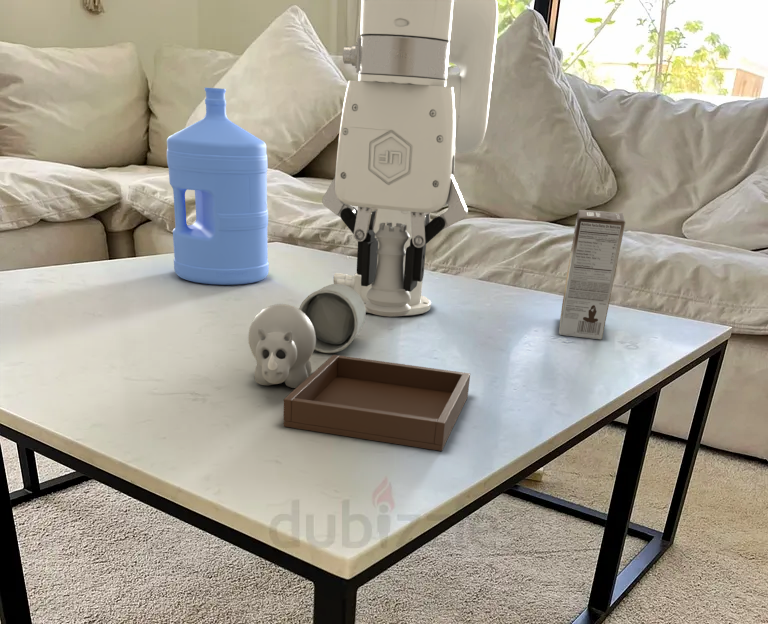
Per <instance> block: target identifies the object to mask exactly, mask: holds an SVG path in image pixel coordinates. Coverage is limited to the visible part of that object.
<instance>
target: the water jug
mask: <svg viewBox="0 0 768 624" xmlns="http://www.w3.org/2000/svg"><path fill="white" fill-rule="evenodd" d="M204 91H205V98H204V104H205V115H204V117H203V118H202V119H199V120H198V121H196V122H194V123H192V124H191V125H188V126H187V127H184V128H183V129H181V130H178V131H176V132H175V133H173V134H171V135H169V136H168V137H167V138H166V148H167V149H166V163H167V167H168V180H169V185H170V186H171V188H172V192H173V208H174V223H175V225H174V227H175V228H173V229H172V242H173V243H172V244H173V257H174V258H173V269H174V272H175V274H176V275H177V276H178V277H179V278H180V279H183V280H186V281H188V282H193V283H198V284H206V285H214V286H215V285H216V286H218V285H219V286H228V285H229V286H235V285H236V286H237V285H247V284H252V283H257V282H261V281H263V280H264V279H265V278H267V277H268V275H269V271H270V270H269V268H270V267H269V266H270V264H269V259H268V258H269V257H268V251H269V249H268V247H269V246H268V226H269V209H268V161H269V160H268V154H267V144H266V142H265V141H264V140H262V139H261V138H259V137H258V136H256V135H254V134H252V133H251V132H249V131H248V130H246V129H244V128H243V127H241V126H239V125H238V124H236V123H235V122H233V121H231V119H229V118H228V116H227V100H226V92H227V89H226V88H219V87H204ZM187 191H194V201H195V221H194V222H193V223H192V224H188V223H187V209H186V208H187V206H186V192H187Z"/></svg>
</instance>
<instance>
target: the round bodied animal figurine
mask: <svg viewBox="0 0 768 624" xmlns="http://www.w3.org/2000/svg"><path fill="white" fill-rule="evenodd" d="M247 338H248V346H249V349H250V351H251V354H252V356H253V357H254V358H255V360H256V365H255V368H254V374H253V375H254V381H255V382H256V383H257V384H259V385H261V386H273V385H278V384H282V383H284V384H285V386H286V387H288V388H292V389H296V388H297V387H298V386H299V385H300V384H301V383H302V382H303V381H305V380H306V379H307V378H308V377H309V376H310V375H311V374H312V364H311V360H310V359H311V358H312V355H313V353H314V352H315V350H314V349H315V344H316V335H315V330H314V327H313V324H312V322H311V321H310V319H309V318H308V317H307V315H306V314H305V313H303V312H302V311H301V310H299V308H298V307H295V306H293V305H290V304H285V303H277V304H272V305H270V306H267V307H265V308H263V309H262V310H261V311H259V312H258V313H257V314H256V316H254V318H253V320H252V321H251V323H250V326H249V330H248V337H247Z"/></svg>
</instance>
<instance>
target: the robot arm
mask: <svg viewBox="0 0 768 624" xmlns="http://www.w3.org/2000/svg"><path fill="white" fill-rule="evenodd" d="M360 2H361V3H360V26H359V36H358V37H357V42H356V43H355V44H352V46H350V45H344V47H343V50H342V61H343V64H344V65H351V66H352V67H355V71H356V73H357V74H358V75H357V76H358V77H357V79H358V80H351V79H350V80H348V82H347V86H346V90H345V95H344V98H343V99H344V101H343V105H342V112H341V119H340V126H339V135H338V143H337V151H336V163H335V176H334V177H333V179H332V181H331V182H330V185H329V186H328V188H327V190H326V191H325V193H324V195H323V196H322V199H321V201H322V204H323V206H324V207H325V208H327V209H328V210H329V211H330V212H332V213H333V214H335V216H338V217H339V218H340V219H341V221H342V222H343V223H344V224H345V226H346V227H347V228H348V229H349V231H350V232H351V233H352V234H353V238H354V240H355V241H357V252H356V253H357V254H356V255H357V256H356V273H354V274H352V275H351V274H347V273H340V272H335V273H334V275H333V284H342V285H346V286H348V287H350V288H352V289H354V290H355V291H356V292H357V293H358V294H359V295H360V296H361V298H362V300H363V302H364V305H366V303H367V302H369V300H368V298H367V297H366V295H367V292H368V291H369V289H370V288H371V287H372V285H371V284H372V283H373V282H374V279H375V276H376V271H377V265H378V253H377V252H376V251H377V250H378V249H379V241H378V239H377V238H376V236H375V234H376V233H377V231H378V230H379V224H380V223H385V225H387V222H392V227H394V226H396V223H401V224H405V225H407V228H406V231H407V232H408V234H409V236H410V237H409V239H408V240H407V241H406V243H405V245H404V250H405V252H406V255H405V256H404V263H403V265H404V284H403V289H405V291H408V292H409V293H410V296H411V299H410V301H409V302H408V303H407V304H408V305H409V306H410V307H411V308H410V310H409V312H408V313H407V314H405V315H403V317H404V316H405V317H408V316H418V315H421V314H425V313H428V312H429V311H430V310H431V305H432V302H431V300H430V299H429V298H427V297H426V296H424V295H422V291H423V280H424V275H425V265H426V264H425V263H426V251H427V244H428V243H429V242H431V240H433V239H434V238H435V237H436V236H437V235H438V234H439V233H441V232H442V231H443V230H444V229H446V228H449V227H450V226H452V225H453V226H454V225H455V224H457V223H458V222H460V221H462V220H464V219H466V218H467V217H468V215H469V209H468V206H467V205H466V202H465V200H464V198H463V195H462V192H461V190H460V188H459V185H458V183H457V181H456V179H455V165H456V154H467V153H473V152H475V151H477V150H478V149H479V148H480V147H481V145H482V144H483V143H484V139H485V136H486V132H487V127H488V122H489V121H488V120H489V112H490V104H491V94H492V86H493V85H492V83H493V76H494V66H495V58H496V57H495V56H496V46H497V38H498V22H499V5H498V0H360ZM449 64H454V65H455V66H456V67H457V68H458V71H459V74H448V67H449ZM445 206H447V207H448V208H447V210H446V211H445V212H443V213H441V214H439V215H437V216H435V217H434V218H433V219H431V213H433V212H436V211H439V210H440V209H442V208H443V207H445ZM356 207H357V208H356ZM365 310H366V313H368V314H371V313H370V312H369V311H368V310H367V308H366V306H365Z"/></svg>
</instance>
